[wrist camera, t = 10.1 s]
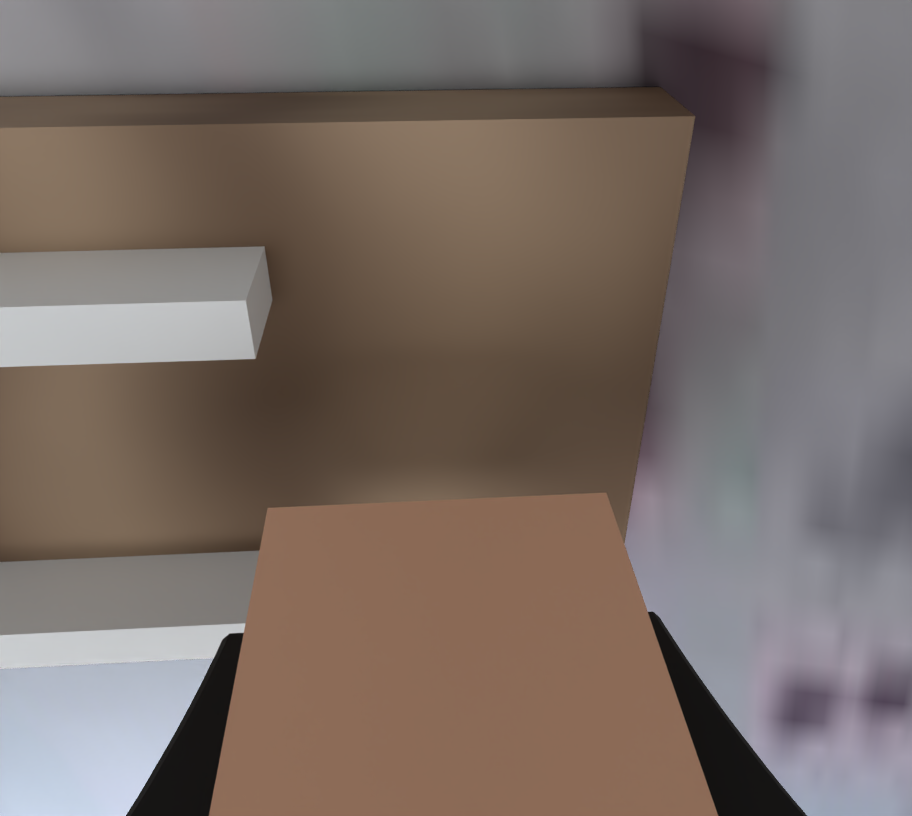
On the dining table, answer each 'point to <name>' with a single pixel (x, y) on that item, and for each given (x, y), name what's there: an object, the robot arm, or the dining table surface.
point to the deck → (345, 305)
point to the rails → (127, 341)
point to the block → (453, 668)
